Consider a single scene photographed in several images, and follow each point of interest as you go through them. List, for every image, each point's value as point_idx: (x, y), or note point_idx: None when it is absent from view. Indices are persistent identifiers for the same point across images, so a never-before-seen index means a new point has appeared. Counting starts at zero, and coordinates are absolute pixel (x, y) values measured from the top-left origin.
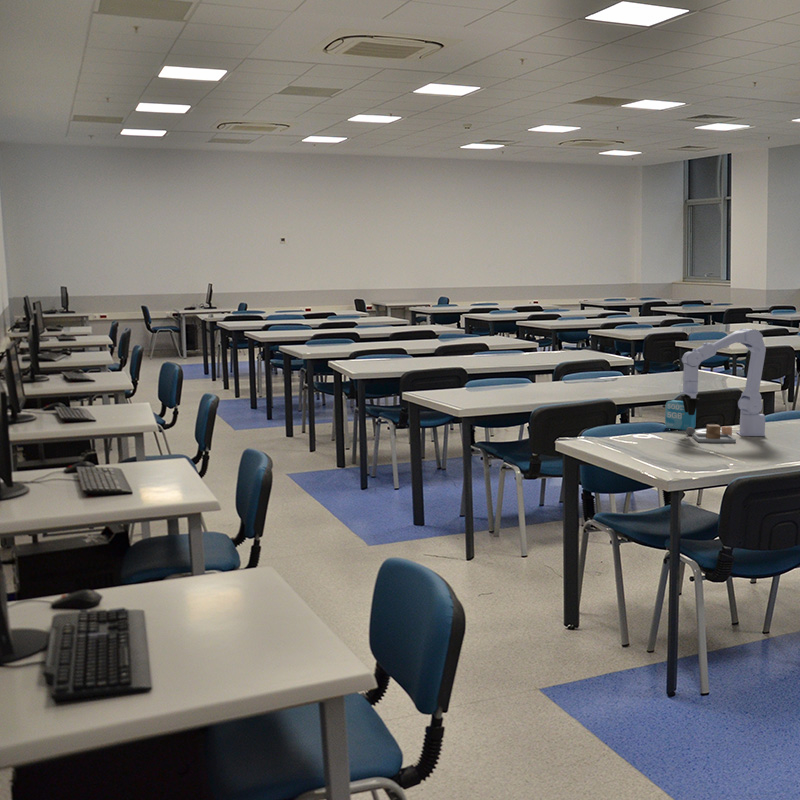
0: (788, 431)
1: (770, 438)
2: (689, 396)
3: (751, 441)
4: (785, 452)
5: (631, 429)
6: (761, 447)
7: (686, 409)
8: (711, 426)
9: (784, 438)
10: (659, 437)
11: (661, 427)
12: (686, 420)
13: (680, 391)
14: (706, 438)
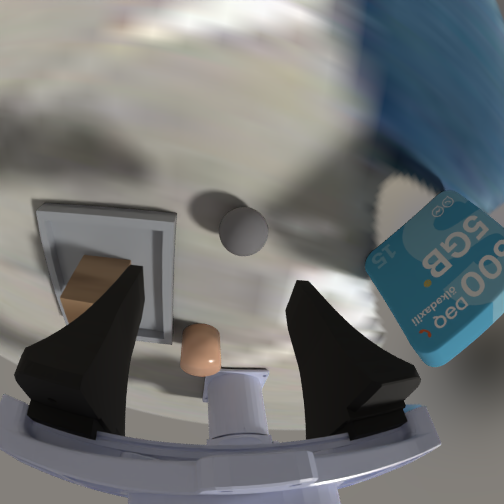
0: (270, 426)
1: (175, 399)
2: (327, 426)
3: None
4: (8, 353)
5: (442, 22)
6: None
7: (300, 304)
8: (63, 306)
9: (179, 412)
10: (185, 32)
11: (455, 174)
12: (397, 274)
13: (262, 488)
14: (114, 257)
